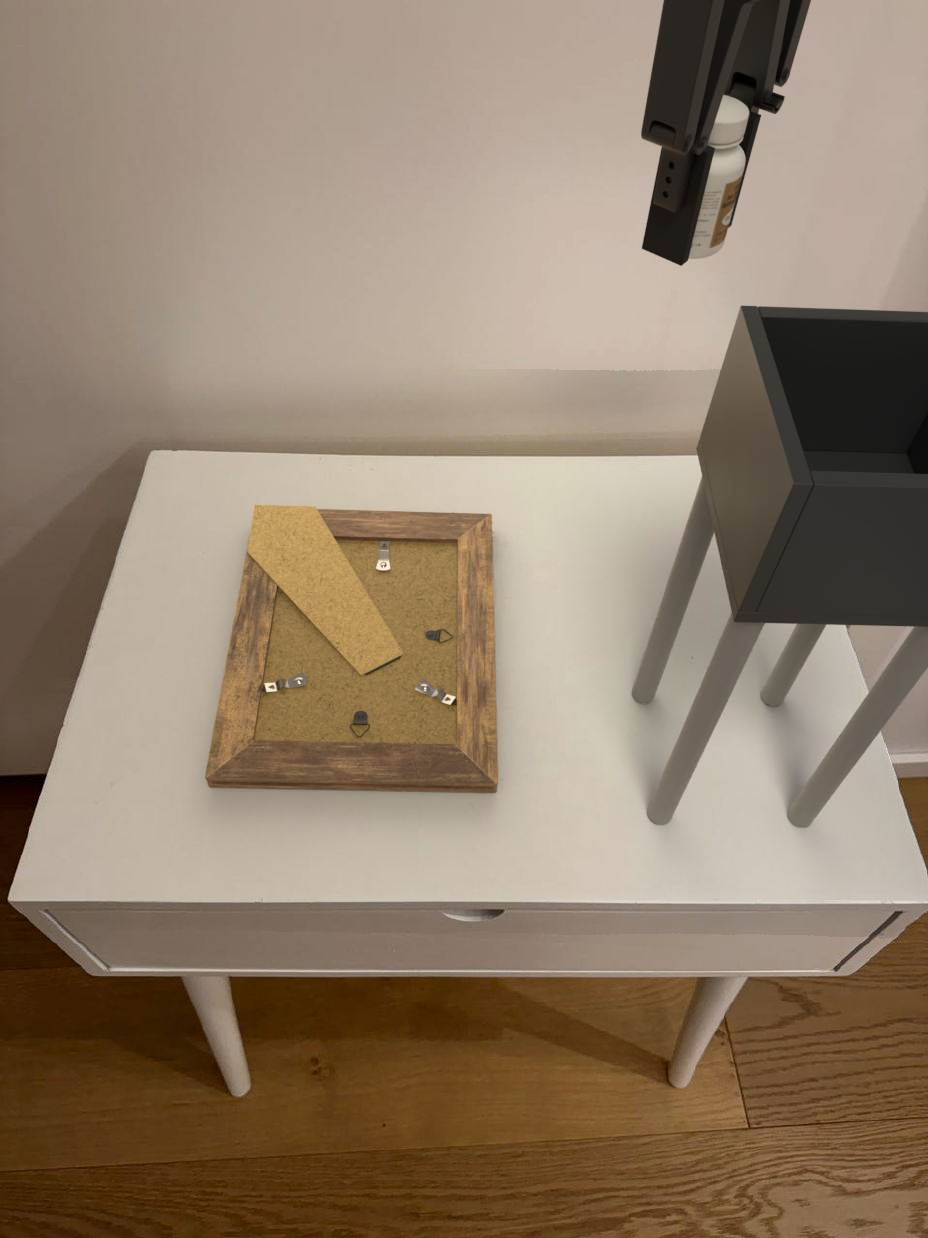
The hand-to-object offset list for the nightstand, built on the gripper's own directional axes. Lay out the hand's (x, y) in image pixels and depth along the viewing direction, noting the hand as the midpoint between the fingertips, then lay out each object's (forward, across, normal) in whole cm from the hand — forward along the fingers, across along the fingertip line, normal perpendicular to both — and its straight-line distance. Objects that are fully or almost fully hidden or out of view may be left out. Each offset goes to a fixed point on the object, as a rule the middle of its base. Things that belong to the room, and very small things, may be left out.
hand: (687, 235), depth 57 cm
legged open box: (+26, +13, +17) cm, 33 cm away
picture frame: (+26, +22, -8) cm, 34 cm away
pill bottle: (0, 0, 0) cm, 0 cm away
